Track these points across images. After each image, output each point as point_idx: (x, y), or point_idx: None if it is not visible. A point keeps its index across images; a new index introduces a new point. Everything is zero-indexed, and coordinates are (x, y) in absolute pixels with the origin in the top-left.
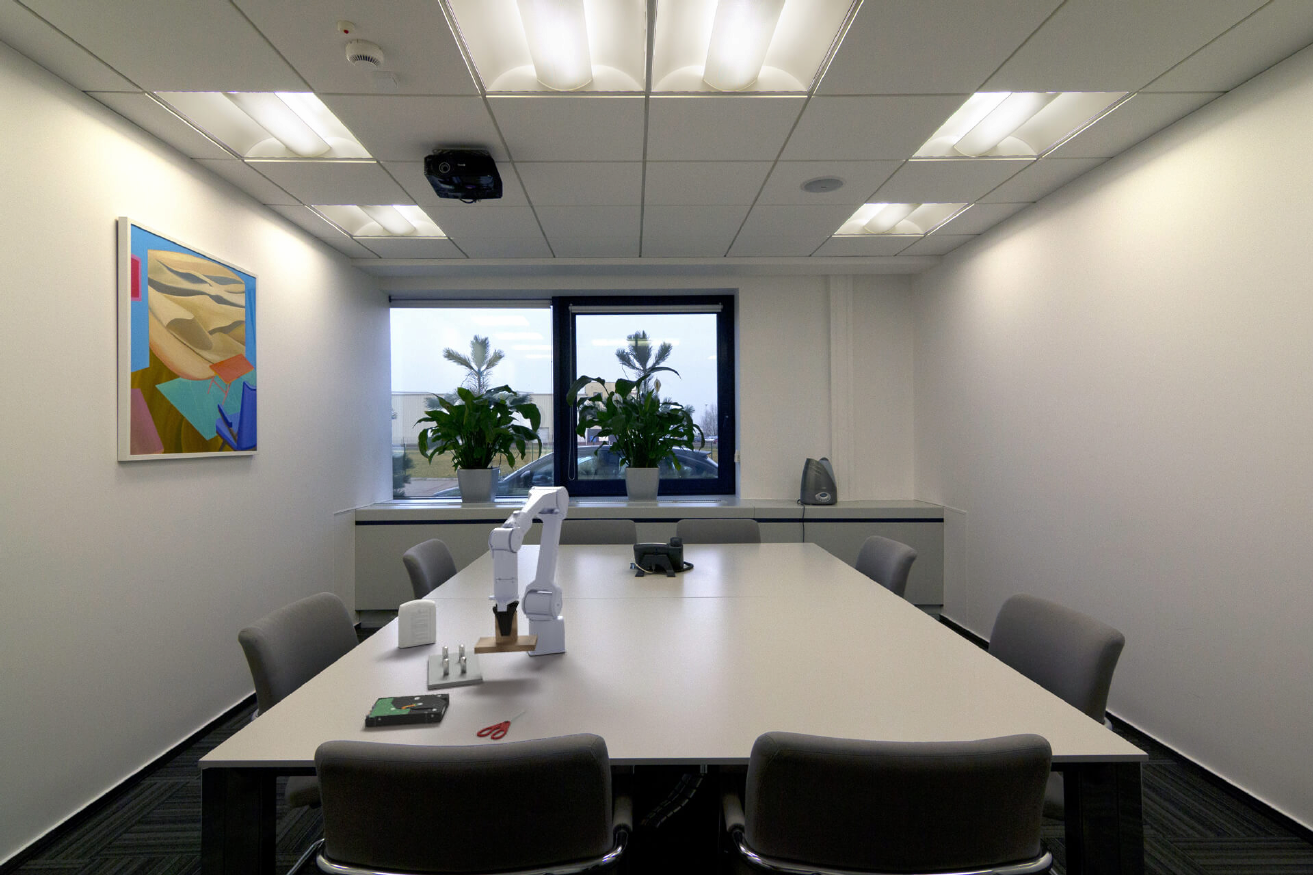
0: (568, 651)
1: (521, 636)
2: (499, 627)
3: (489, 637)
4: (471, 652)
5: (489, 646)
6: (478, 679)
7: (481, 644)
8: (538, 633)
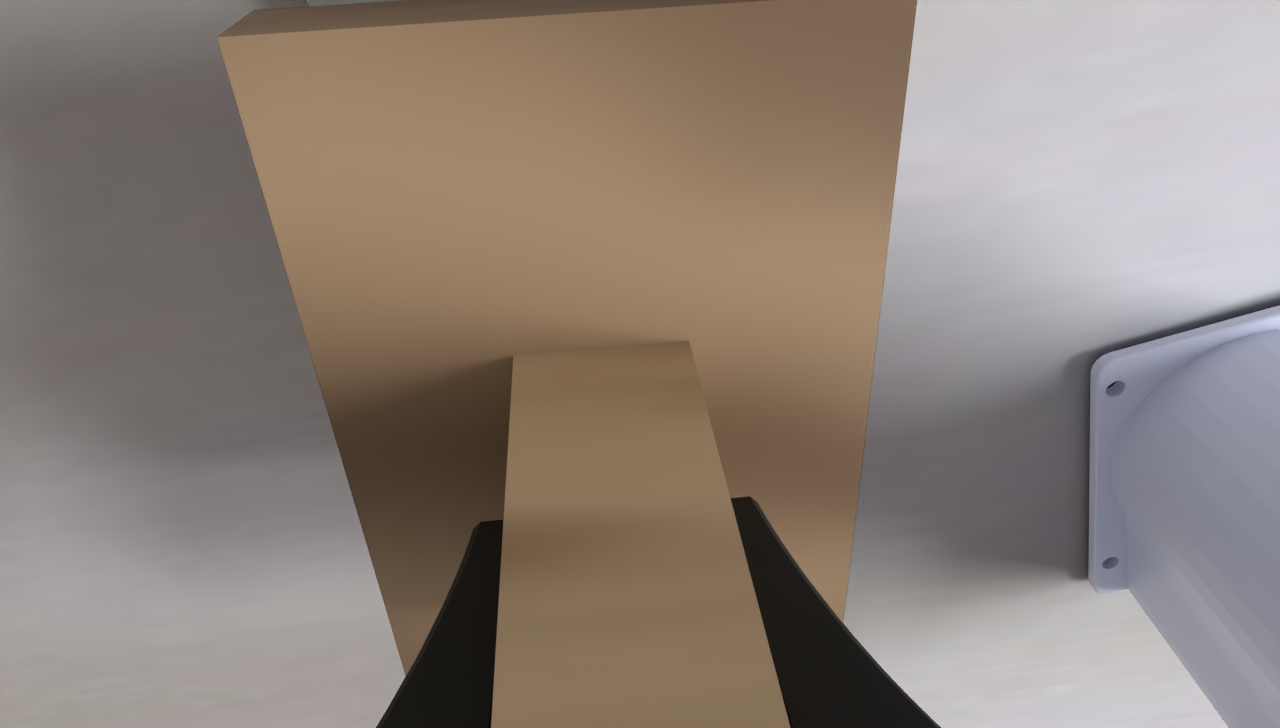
0: (1105, 594)
1: None
2: (429, 639)
3: (866, 182)
4: None
5: (311, 307)
6: (312, 4)
7: (426, 138)
8: (1241, 559)
